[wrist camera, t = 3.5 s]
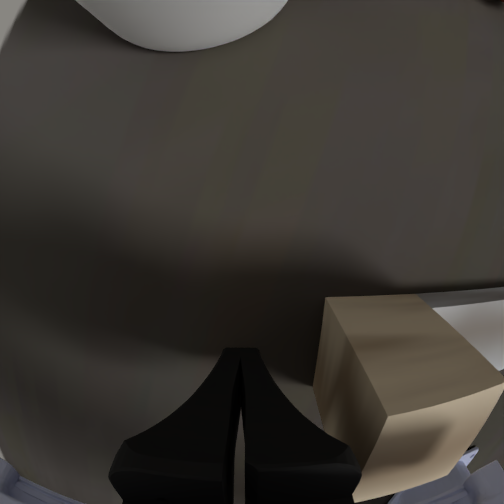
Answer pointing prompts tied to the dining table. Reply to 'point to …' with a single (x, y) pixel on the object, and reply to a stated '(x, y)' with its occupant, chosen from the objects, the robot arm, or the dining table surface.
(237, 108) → the dining table surface
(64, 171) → the dining table surface
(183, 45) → the mug
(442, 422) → the beige piece
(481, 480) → the robot arm
